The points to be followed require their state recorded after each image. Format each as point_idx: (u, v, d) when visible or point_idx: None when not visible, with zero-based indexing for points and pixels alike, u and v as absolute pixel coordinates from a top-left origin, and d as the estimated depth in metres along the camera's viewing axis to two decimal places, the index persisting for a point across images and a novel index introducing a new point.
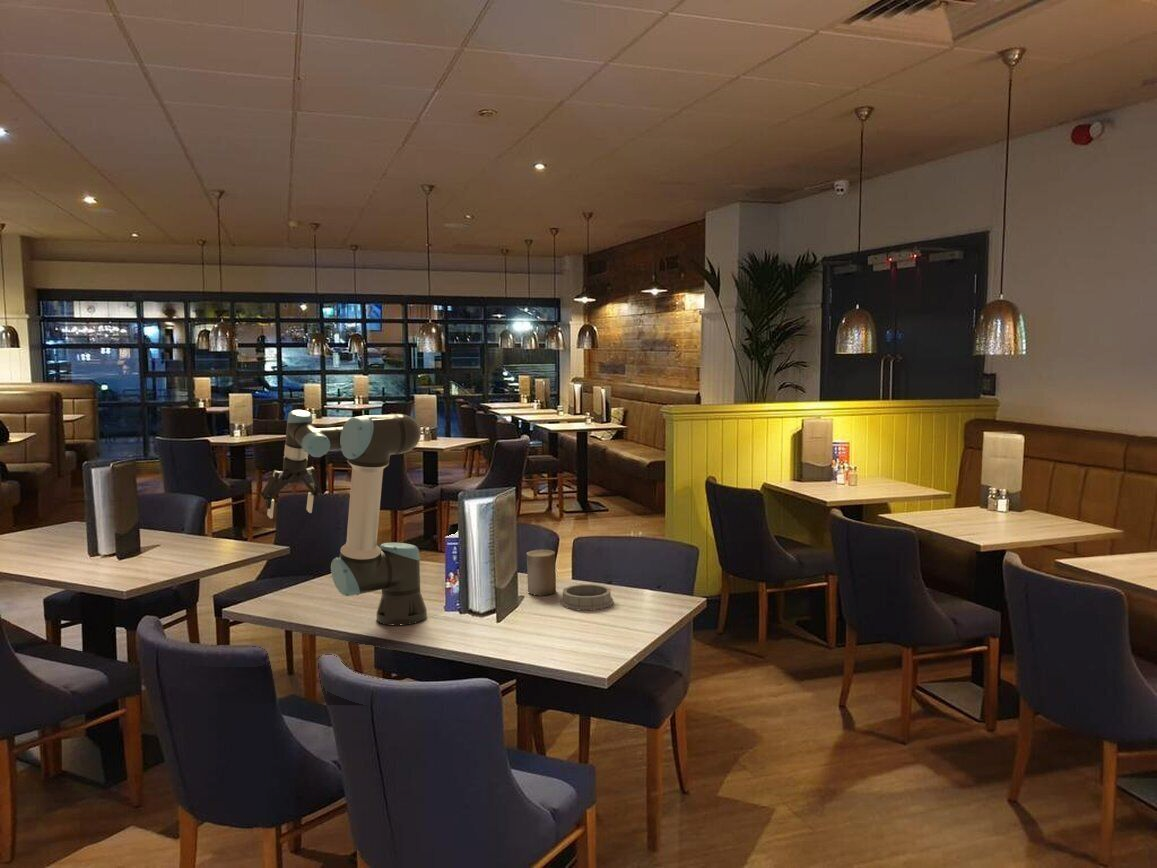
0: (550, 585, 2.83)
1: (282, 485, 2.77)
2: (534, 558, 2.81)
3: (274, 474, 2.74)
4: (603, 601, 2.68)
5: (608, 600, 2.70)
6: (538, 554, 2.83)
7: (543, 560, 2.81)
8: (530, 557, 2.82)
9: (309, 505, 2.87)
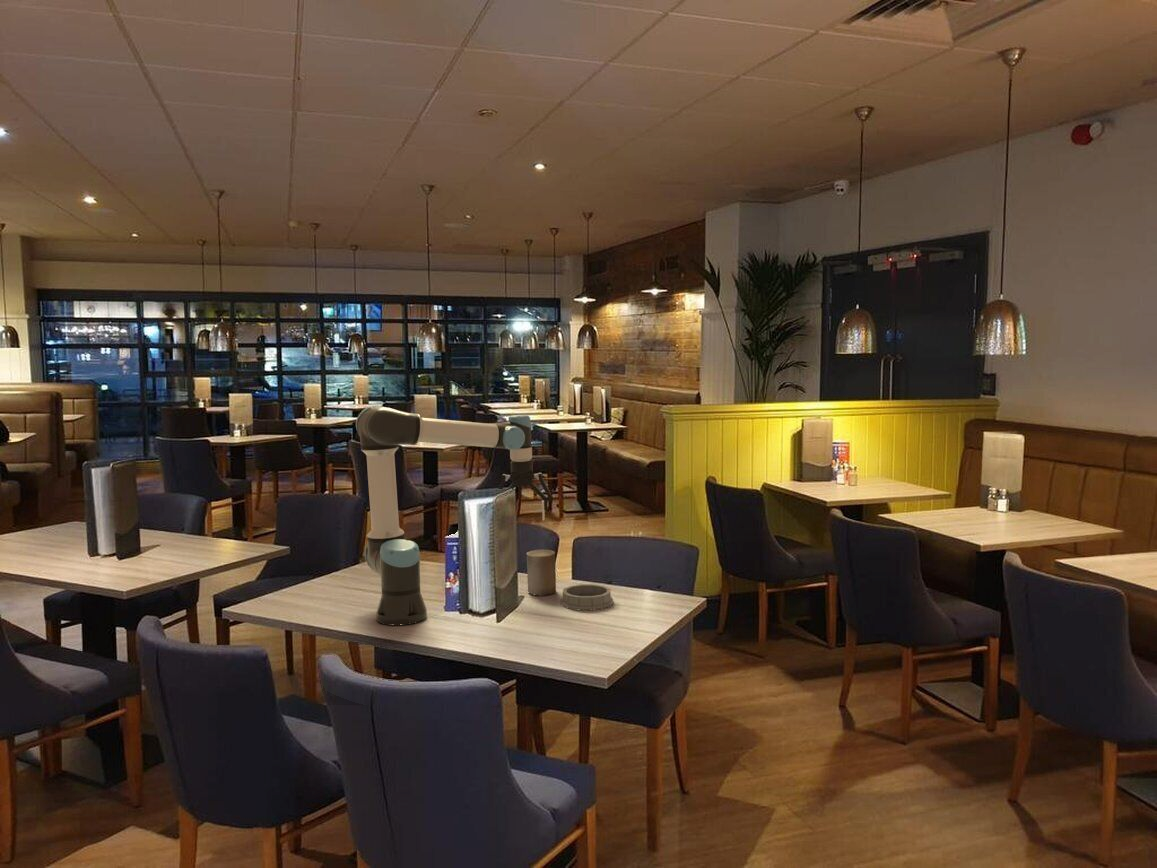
0: (550, 585, 2.83)
1: None
2: (534, 558, 2.81)
3: (502, 477, 2.90)
4: (603, 601, 2.68)
5: (608, 600, 2.70)
6: (538, 554, 2.83)
7: (543, 560, 2.81)
8: (530, 557, 2.82)
9: (542, 513, 2.91)
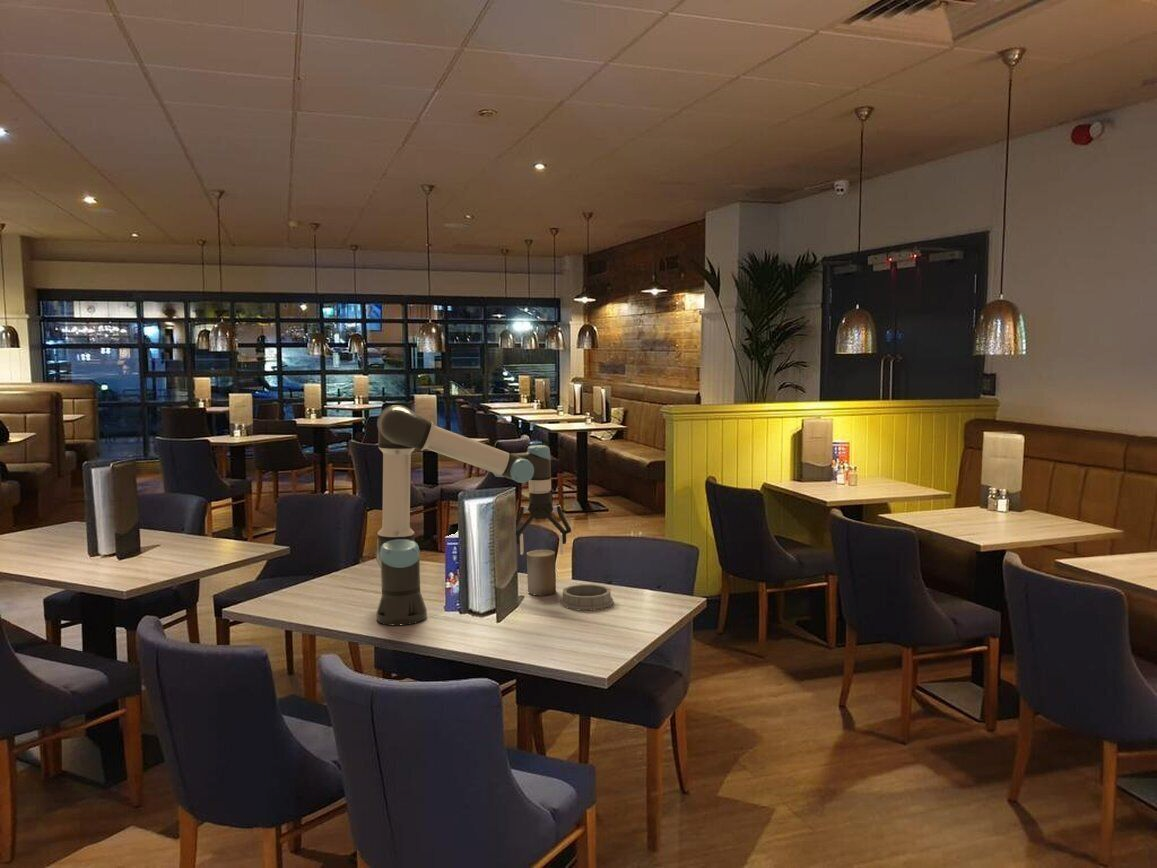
0: (550, 585, 2.83)
1: (528, 520, 2.83)
2: (534, 558, 2.81)
3: (520, 508, 2.84)
4: (603, 601, 2.68)
5: (608, 600, 2.70)
6: (538, 554, 2.83)
7: (543, 560, 2.81)
8: (530, 557, 2.82)
9: None
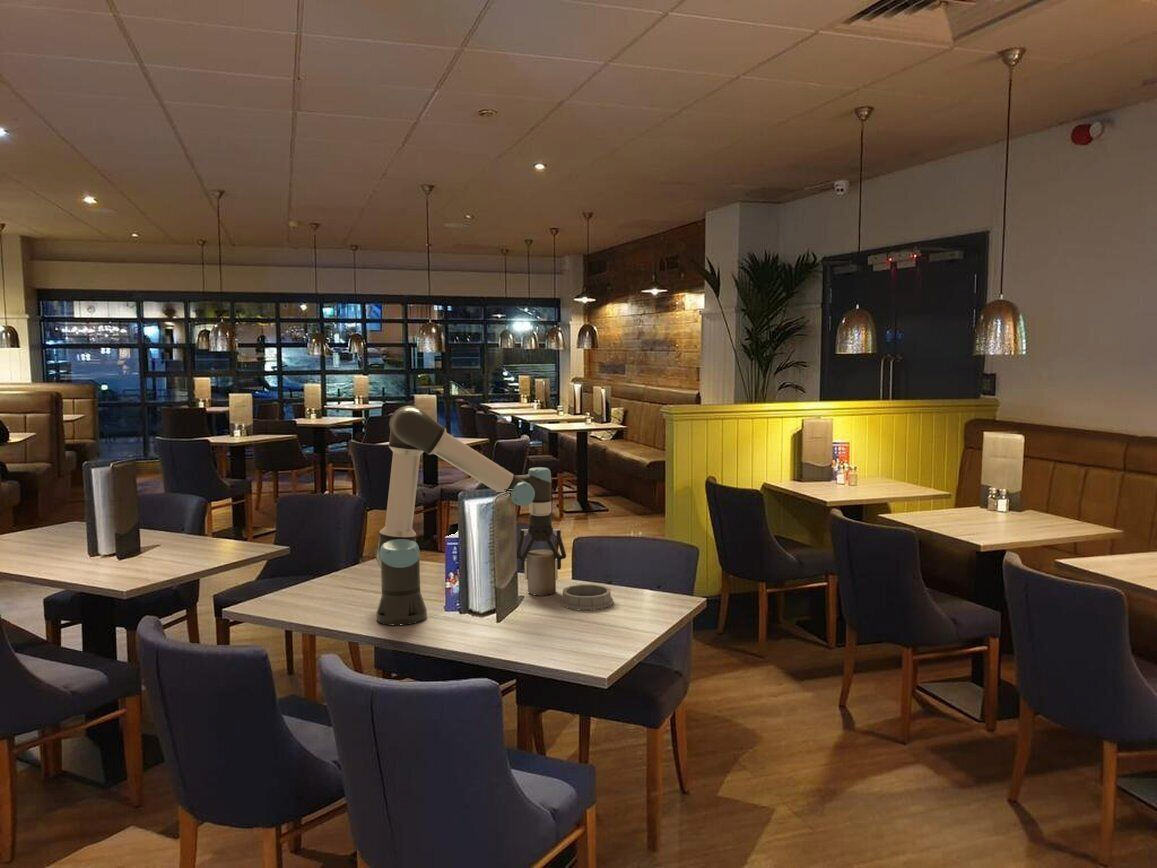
0: (550, 584, 2.83)
1: (530, 543, 2.84)
2: (534, 557, 2.81)
3: None
4: (603, 601, 2.68)
5: (608, 600, 2.70)
6: (538, 554, 2.83)
7: (543, 560, 2.81)
8: (530, 557, 2.82)
9: (555, 571, 2.85)
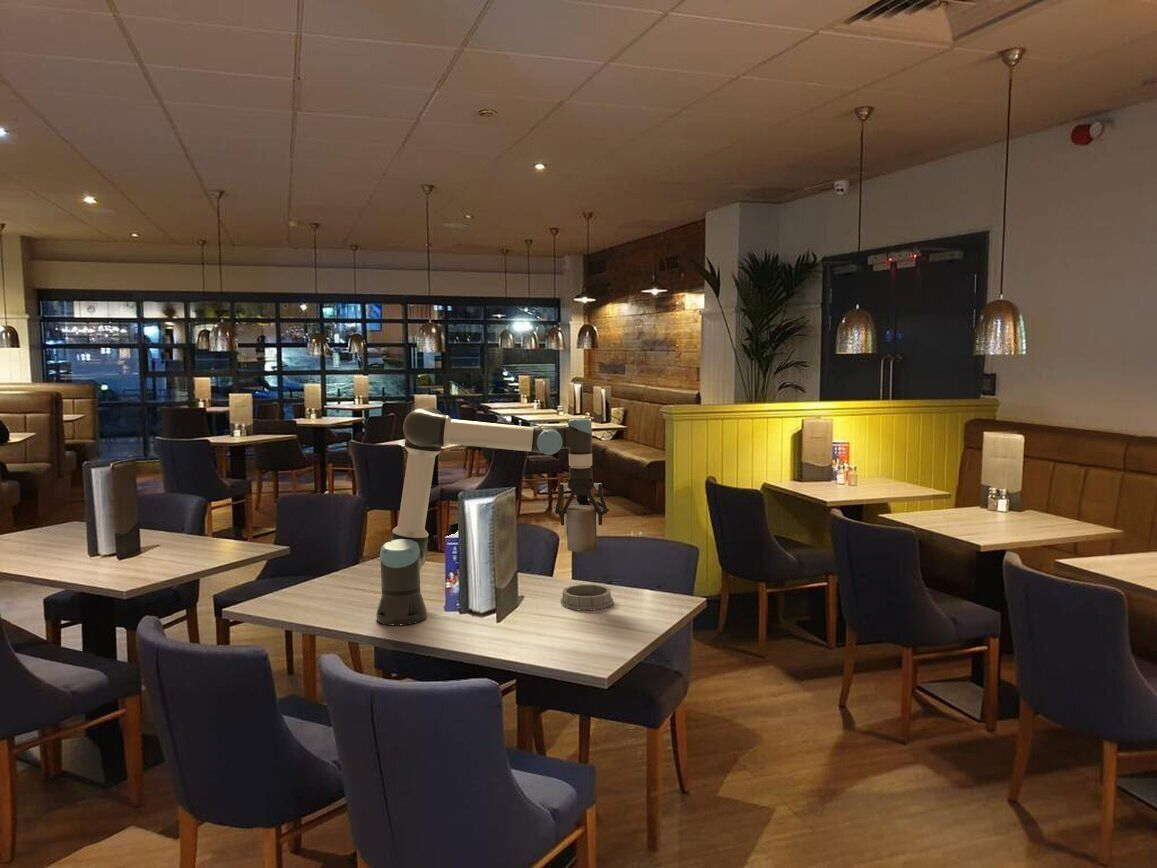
0: (592, 541, 2.70)
1: (570, 498, 2.71)
2: (574, 512, 2.68)
3: None
4: (603, 601, 2.68)
5: (608, 600, 2.70)
6: (578, 509, 2.70)
7: (584, 515, 2.68)
8: (570, 512, 2.69)
9: (596, 527, 2.72)
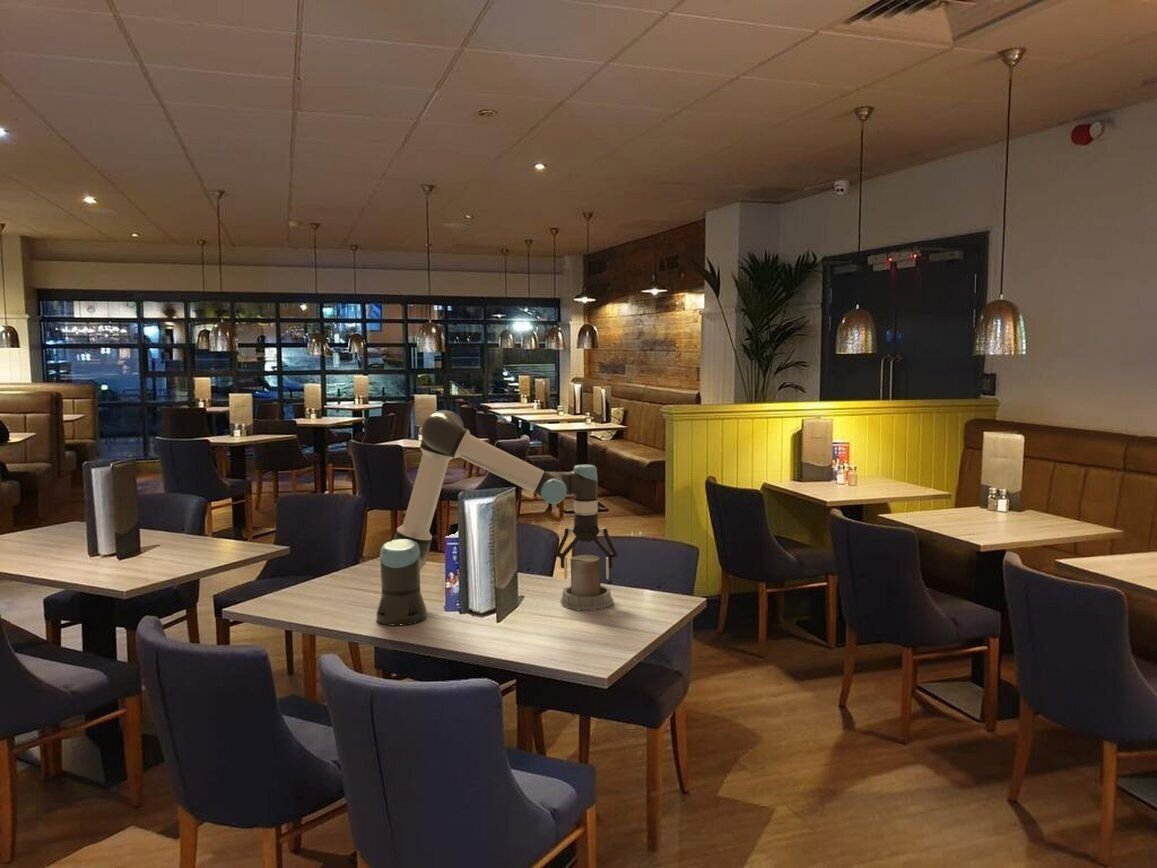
0: (596, 592, 2.70)
1: (573, 543, 2.71)
2: (579, 563, 2.68)
3: None
4: (603, 601, 2.68)
5: (608, 600, 2.70)
6: (583, 560, 2.70)
7: (588, 566, 2.68)
8: (574, 563, 2.69)
9: (606, 570, 2.72)
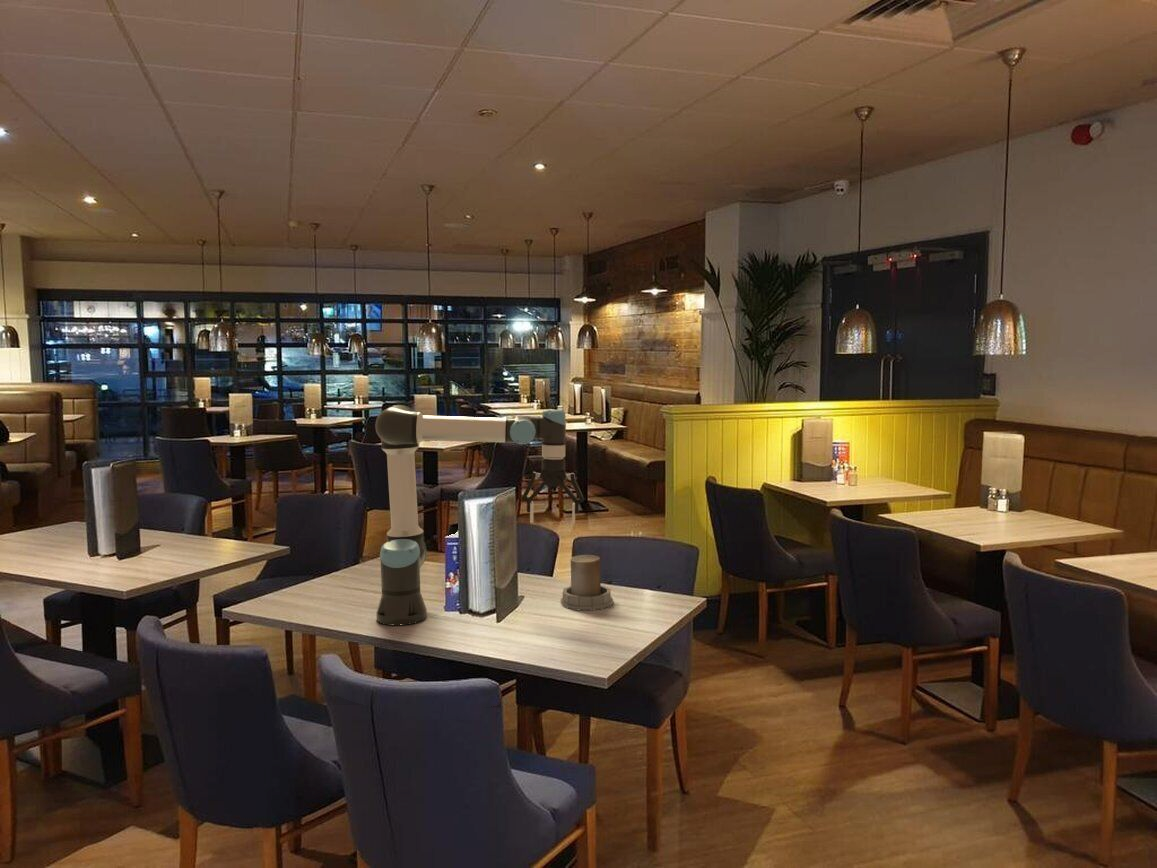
0: (596, 592, 2.70)
1: (539, 487, 2.71)
2: (579, 563, 2.68)
3: (532, 474, 2.72)
4: (603, 601, 2.68)
5: (608, 600, 2.70)
6: (583, 560, 2.70)
7: (588, 566, 2.68)
8: (574, 563, 2.69)
9: (572, 516, 2.72)
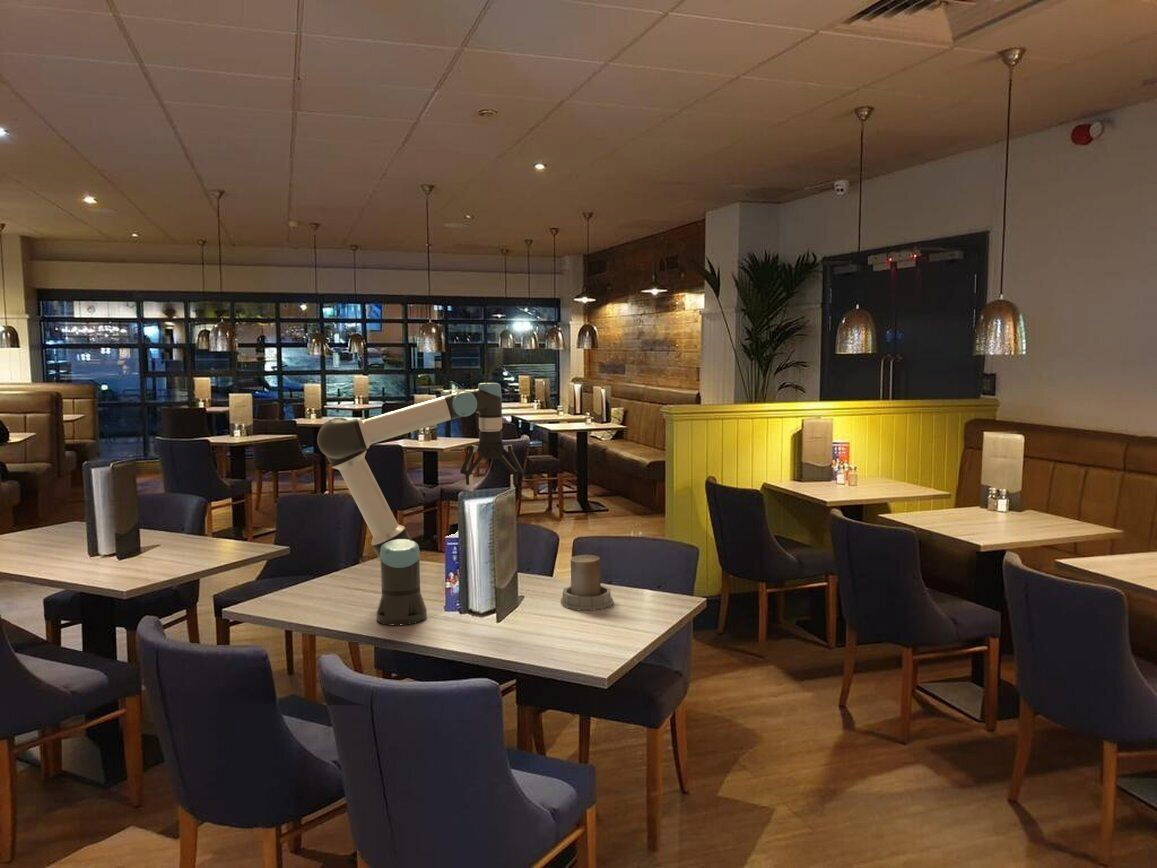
0: (596, 592, 2.70)
1: (478, 460, 2.74)
2: (579, 563, 2.68)
3: None
4: (603, 601, 2.68)
5: (608, 600, 2.70)
6: (583, 560, 2.70)
7: (588, 566, 2.68)
8: (574, 563, 2.69)
9: (511, 487, 2.75)
